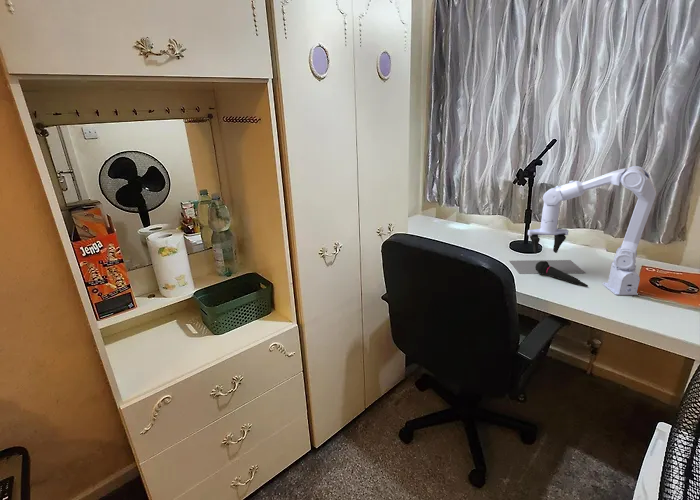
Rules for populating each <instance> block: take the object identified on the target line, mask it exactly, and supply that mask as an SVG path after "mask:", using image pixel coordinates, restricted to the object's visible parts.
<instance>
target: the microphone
mask: <svg viewBox="0 0 700 500" xmlns="http://www.w3.org/2000/svg"><path fill="white" fill-rule="evenodd" d="M535 268H536V270H537V271H538V272H539V275H545V273H547V275H549V276H551V277H553V278H555V279H560V280H562V281H564V282H568V283H569V284H573V285H576V286H577V285H579V286H582V287H587V288H588V287H589V285H588V284H586V283H585V282H583V281H581V279H579V278H576V277H575V276H573V275H570V273H564V272H562V271H560V270H558V269H556V268H554V267H551V266H549V264H548V262H547V261H540V262H538V263H537V264H536V266H535Z"/></svg>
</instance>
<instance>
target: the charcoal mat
mask: <svg viewBox="0 0 700 500" xmlns="http://www.w3.org/2000/svg"><path fill="white" fill-rule="evenodd" d="M540 261H547V262H548V264H549V266H551V267H554V268H556V269H558V270H560V271H562V272H564V273H566V274H586V271H584V270H583V269H582V268H581V267H580V266H579V265H577V264H576V263H574V261H572V259H550V260H549V259H548V260H547V259H544V260H543V259H539V260H536V259H535V260H531V259H530V260H509V263H510V264H511V265H512V267H513V268H514V269H515V270H516V271H517V273H518V274H520V275H521V274H522V275H523V274H524V275H527V274H531V275H532V274H539V272H538V271H537V270H536V268H535V266H536V264H537V263H538V262H540ZM545 274H547V273H545ZM545 274H544V275H545ZM539 275H540V274H539ZM547 275H548V274H547Z"/></svg>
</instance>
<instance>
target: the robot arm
mask: <svg viewBox="0 0 700 500" xmlns="http://www.w3.org/2000/svg"><path fill="white" fill-rule="evenodd" d="M606 185H614V186H618V187H619V186H620V185H622V186H623V187H624V188H625V189H627V190H629V191H631V192H632V193H633V194H634V195H635V196H636V198H637V200H636V204H635V206H634V209H633V212H632V215H631V217H630V220H629V224H628V226H627V228H626V232H625V235H624V238H623V241H622V244H621V245H620V246H619V247H618V248H617V249H616V251H615V256H614V257H613V261H612V262H611V265H610V270H609V275H608V280H607V282H602V283H601V284H602V285H603V286H604V287H605V288H607V290H609V291H610V292H612V294H614V295H616V296H638V293H639V292H638V288H639V284H640V279H641V277H640V275H639V274H638V273H637V271H636V268H637V265H636V261H637V260H636V259H637V256H638V251H637V249H638V246H639V244H640V240H641V239H642V235H643V232H644V230H645V227H646V224H647V222H648V219H649V217H650V213H651V210H652V208H653V205H654V202H655V199H656V197H657V190H656V188H655V186H654V183H653V181H652V179H651V176H650V173H649V172H648V171H647V170H645V169H644V167H641V166H638V165H633V166H632V165H631V166H630V167H628V168H626V167H625V168H620V169H617V170H613V171H610V172H607V173H605V174H603V175H599V176H596V177H594V178H591V179H588V180H585V181H581V180H574V179H573V180H569V181H568V183H566V184H562V185H558V184H557V185H556V186H555V187H552V188H549V189H548V190H547V191H546V192H544V193H543V196H542V201H543V207H542V210H541V211H542V212H541V220H540V228H536V229H534V228H533V229H528V230H527V236H529V238H530V241H531V244H532V249H533V250H532V251H533V253H535V254H538V250H539V249H538V248H539V243H540V240H541V239H540V237H539V236H554V237H553V238H554V241H553V247H552V249H553V250H552V252H554V253H556V254H558V251H559V249H560V247H561V245H562V244H563V243H564V241H565V240H567V239H566V238H567V236H569V230H568V229H567V228H557V227H558V222H559V215H560V214H559V213H560V204H561V201H562V202H565V201H568V200H571V199H574V198H577V197H581V196H583V195H584V193H585V192H586V191H589V190H593V189H595V188H599V187H603V186H606ZM637 292H638V293H637Z"/></svg>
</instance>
